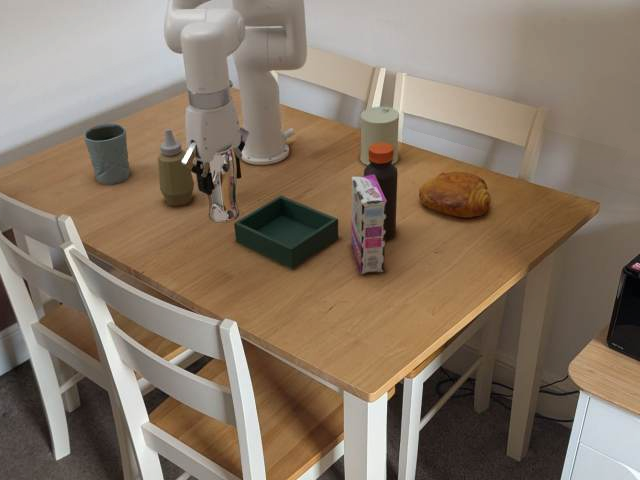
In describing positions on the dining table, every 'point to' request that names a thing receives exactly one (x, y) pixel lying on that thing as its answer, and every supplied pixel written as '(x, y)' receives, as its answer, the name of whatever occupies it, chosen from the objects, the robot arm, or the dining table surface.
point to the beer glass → (223, 187)
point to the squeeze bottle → (174, 172)
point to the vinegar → (385, 180)
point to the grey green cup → (108, 152)
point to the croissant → (456, 194)
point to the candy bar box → (368, 224)
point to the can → (379, 130)
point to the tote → (286, 231)
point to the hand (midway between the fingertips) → (220, 183)
